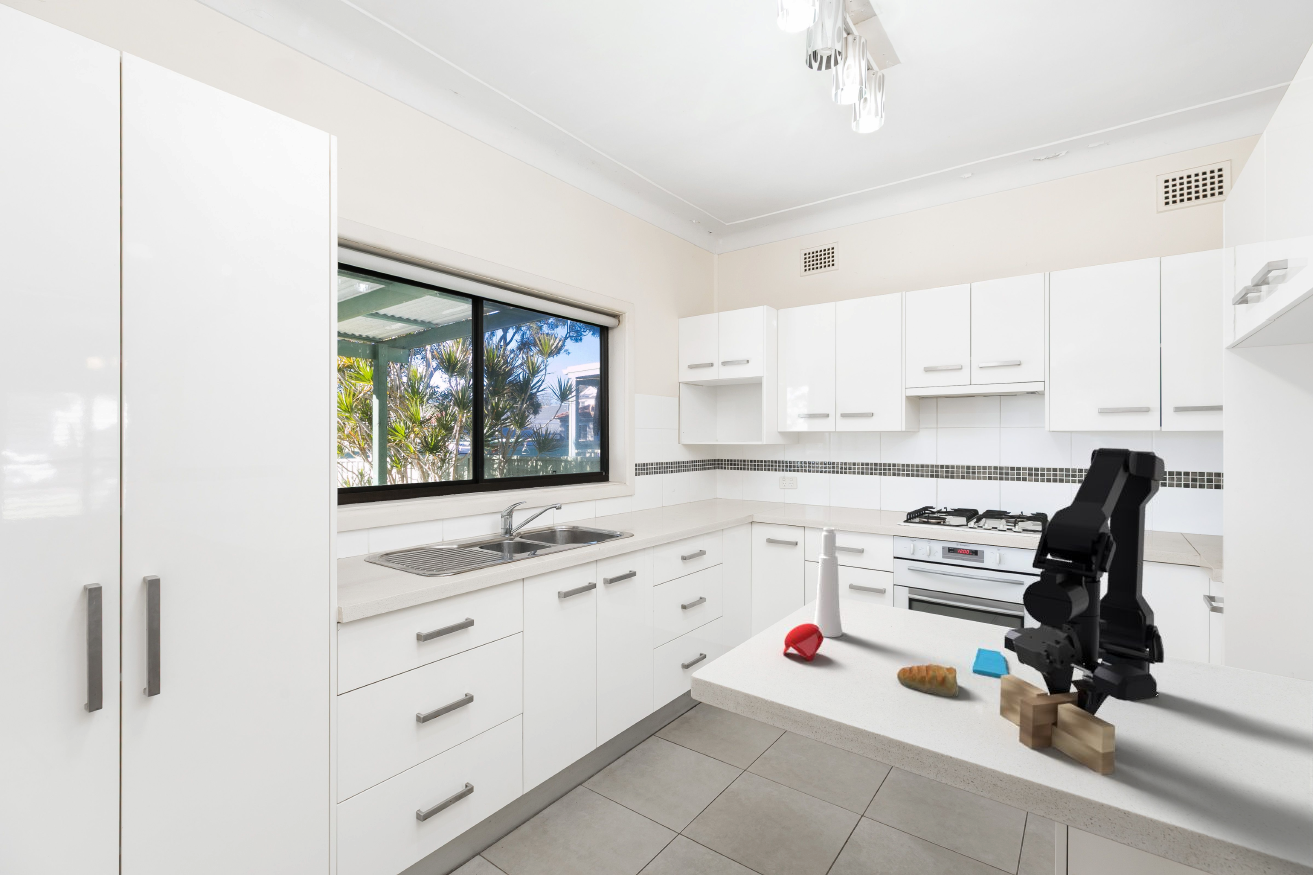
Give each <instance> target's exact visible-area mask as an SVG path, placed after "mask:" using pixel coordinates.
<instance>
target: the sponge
mask: <svg viewBox="0 0 1313 875" xmlns="http://www.w3.org/2000/svg"><path fill="white" fill-rule="evenodd" d="M972 673H973V674H976V673H978V675H981V674H982V675H981V676H986V675H987V676H986V677H991V676H993V677H992V678H997V679H1001V675H1010V674H1008V673H1009V668H1008V665H1007V661H1006V657H1005V656H1004V655H1002V653H1001V651H997V650H991V649H986V648H980V647H978V649H977V652H976V655H975V660H974V662H973V664H972Z"/></svg>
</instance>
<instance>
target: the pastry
mask: <svg viewBox="0 0 1313 875" xmlns="http://www.w3.org/2000/svg"><path fill="white" fill-rule="evenodd" d="M896 678H897V680H898V681H899V683H900V684H902V685H903V686H905V687H908V688H912V689H914V690H918V691H920V692H923V693H929V694H934V695H940V696H946V697H957V695H958V694H959V684H958V681H957V680H958V679H957V669H956V668H954V667H953V666H949V667H946V666H942V665H939V664H934V663H933V664H932V663H929V664H926V665H924V664H921V665H911V666H907V667H902V668H900V669H899V671H897V674H896Z"/></svg>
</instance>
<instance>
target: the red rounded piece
mask: <svg viewBox="0 0 1313 875" xmlns="http://www.w3.org/2000/svg"><path fill="white" fill-rule="evenodd" d="M824 638H825V637H823V636H822V633H821V632H820V630H819V627H818V626H817V625H815V624H814V623H811V622H810V623H807V622H806V623H802V624H800V625H798V626H795V627H793V629H791V630H790V631H788V633H787V634H786V636H785V638H784V646H785V647H784V649H783V651H782V654H783V655H785V654H786V653H787V652H788V651H789V649H790V648H792V649H793V650H794V651H796V652H797V654H798V655H800V656H802V657H804V658H805V660H806V661H813V660H814V657H815V655H816V653H817V652H818V651H819V649H820V647H821V646H822V644H823V642H824Z"/></svg>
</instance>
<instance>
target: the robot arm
mask: <svg viewBox="0 0 1313 875" xmlns="http://www.w3.org/2000/svg"><path fill="white" fill-rule="evenodd" d="M1165 467H1166V466H1165V461H1164V459H1163V458H1161V457H1159V456H1158V455H1156V453H1155V452H1154V451H1144V450H1142V451H1141V450H1130V449H1129V448H1119V447H1118V448H1117V447H1116V448H1115V447H1114V448H1113V447H1099V448H1097V449H1093V450H1092V452H1091V456H1090V466H1089V467H1088V469H1087V472H1086V474H1085V476H1084V478H1083V479H1082V482H1081V484H1080V486H1079V487H1078V490H1077V492H1076V494H1075V497H1073V500H1072V502H1071V504H1069V505H1068V506H1065V507H1064V508H1062V509H1059V510H1057V511H1055V512H1054V515H1052V517H1051V518H1050V519H1049V521H1048V523H1047V524H1046V525H1045V526H1043V528H1042V531H1041V534H1040V538H1039V540H1038V541H1039V542H1038V545H1037V547H1036V551H1035V554H1034V558H1033V562H1032V563H1031V564H1032V565H1031V566H1032V568H1034V569H1038V570H1042V571H1040V574H1039V580H1037V581H1033V582H1032V583H1031V584H1029V585H1027V588H1025V591H1024V593H1023V595H1022V604H1023V606H1024V609H1025V610H1026V612H1027V614H1028V615H1029V616H1030V617H1031V619H1033V620H1035V621H1036V622H1038V623H1040V624H1039V626H1038V627H1036V628H1035V627H1033V626H1032V627H1022V628H1011V629H1009V630H1008V631H1007V632H1006V633H1005V635H1004V640H1003V641H1004V642H1003V643H1004V649H1006V650H1008V651H1010V652H1013V653H1015V654H1016V656H1017V657H1016V658H1017V660H1018V662H1019V663H1020V664H1021V665H1026V666H1029V667H1031V668H1032V669H1034V670H1035V671H1036V672H1039V673H1040V674H1041V676H1042V678H1043V680H1044V683H1045V685H1046V688H1047V692H1048V695H1054V694H1062V693H1069V692H1071V689H1072V688H1071V687H1072V685H1073V687H1074V688H1075V690H1076V692H1077V691H1078V708H1080V709H1082V710H1084V711H1086V712H1088V713H1090V714H1092V715H1094V716H1096V714H1097V712H1098V711H1099V709H1100V707H1102V705H1103V704H1104V701H1106V699H1107V698H1109V697H1112V698H1114V699H1116V700H1119V701H1123V702H1128V701H1134V700H1141V699H1148V698H1153V697H1154V698H1155V697H1157V696H1156V695H1157V694H1159V695H1160V692H1158V691H1157V689H1158V682H1157V679H1155V677H1154V676H1153V674H1152V673H1150V672H1151V670H1150V666H1151V664H1152V665H1155V664H1156V663H1157V664H1158V663H1160V664H1164V663H1165V662H1164V660H1165V649H1164V644H1163V639H1162V636H1161V635H1160V634H1161V633H1160V631H1159V628H1158V626H1157V625H1155V612H1154V611H1153V609H1152V608H1151V606H1150V605H1149V603H1148V601H1147V600H1146V598H1145V597H1144V595H1143V581H1144V580H1143V579H1144V578H1143V577H1144V555H1145V554H1144V553H1145V552H1144V551H1145V531H1146V530H1145V528H1146V527H1145V526H1146V523H1145V522H1146V507H1147V505H1148V504H1149V502H1151V500H1152V499H1153V498H1154V497H1155V495H1156V494H1157V493H1158V492H1159V490H1160V482H1162V481H1163V480H1164V477H1165ZM1048 556H1050V557H1051V558H1048ZM1104 573H1105V574H1107V586H1106V587H1107V589H1106V593H1105V594H1103V596H1102V597H1101V584H1102V583H1101V582H1102V581H1101V578H1103V576H1104ZM1099 660H1101V661H1100V662H1099ZM1075 669H1077V670H1079V671H1082V672H1083V673H1082V676H1081V677H1082V678H1081V679H1073V677H1074V671H1075Z"/></svg>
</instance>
